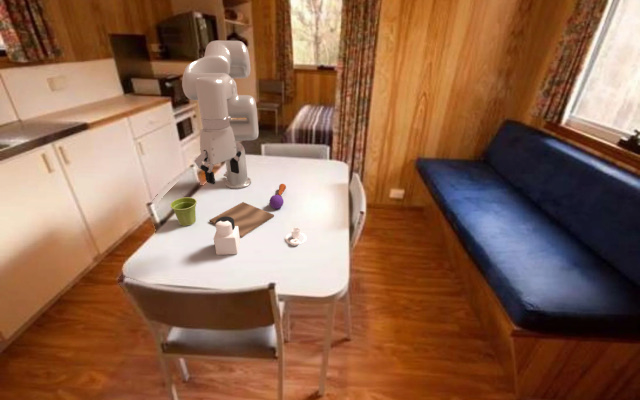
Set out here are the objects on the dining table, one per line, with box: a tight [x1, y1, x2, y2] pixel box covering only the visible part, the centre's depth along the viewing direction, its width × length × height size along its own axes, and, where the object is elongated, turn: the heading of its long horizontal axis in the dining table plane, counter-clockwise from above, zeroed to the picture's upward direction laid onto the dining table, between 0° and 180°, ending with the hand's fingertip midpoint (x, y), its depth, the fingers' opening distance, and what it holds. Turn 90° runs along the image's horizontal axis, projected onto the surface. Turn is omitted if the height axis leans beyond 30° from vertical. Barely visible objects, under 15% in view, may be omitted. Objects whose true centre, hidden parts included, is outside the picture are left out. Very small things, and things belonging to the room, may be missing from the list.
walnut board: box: [209, 201, 275, 239], centre depth 125 cm, size 18×18×1 cm
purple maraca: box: [269, 183, 287, 209], centre depth 139 cm, size 6×6×20 cm
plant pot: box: [169, 196, 198, 227], centre depth 120 cm, size 9×9×9 cm
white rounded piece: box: [284, 227, 308, 246], centre depth 113 cm, size 9×8×4 cm
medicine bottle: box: [213, 216, 241, 256], centre depth 105 cm, size 7×7×12 cm
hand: (223, 177), depth 96 cm, fingers open, 9 cm apart
